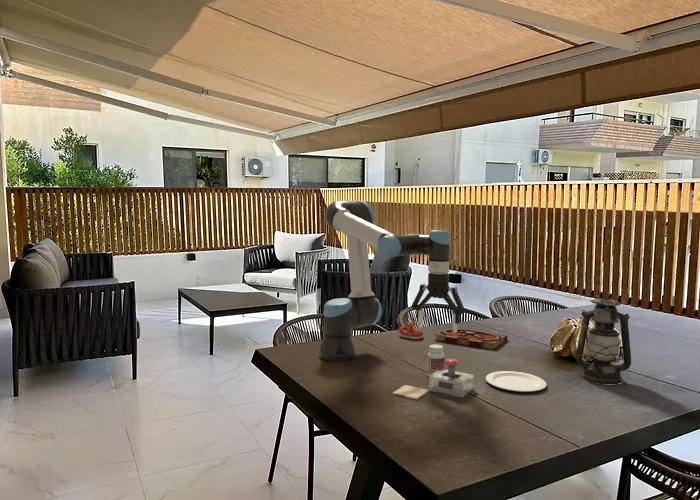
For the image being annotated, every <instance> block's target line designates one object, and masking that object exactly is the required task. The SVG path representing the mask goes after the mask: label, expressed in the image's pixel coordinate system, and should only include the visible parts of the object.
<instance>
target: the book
mask: <svg viewBox="0 0 700 500" xmlns="http://www.w3.org/2000/svg"><path fill="white" fill-rule="evenodd" d="M434 336H436V339H434V340H435V341H436V342H440V343H441V342H442V343H445V344H452V345H461V346H466V347H469V348H476V349H484V350H491V351H495V350H497V348H498V346H500V345H501V344H502V343H503V342H505V341H508V336H507V335H503V334H496V333H490V332H486V331H485V332H484V331H478V330H472V329H465V328H464V329H463V328H457V332H456V333H453V327H448V328H446V329H444V330H441V331H439V332H437V333H434ZM435 341H434V342H435ZM499 344H500V345H499Z"/></svg>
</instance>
